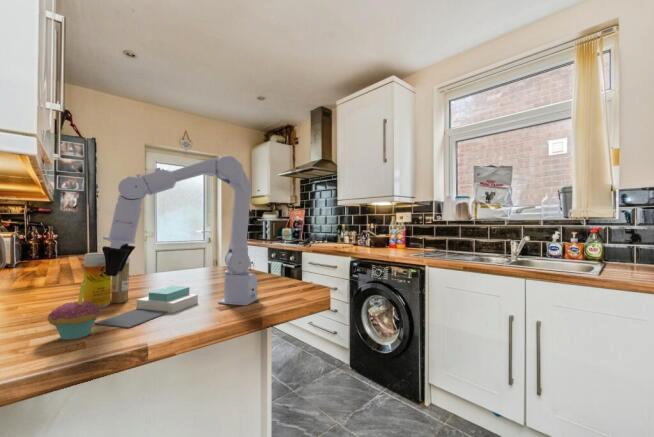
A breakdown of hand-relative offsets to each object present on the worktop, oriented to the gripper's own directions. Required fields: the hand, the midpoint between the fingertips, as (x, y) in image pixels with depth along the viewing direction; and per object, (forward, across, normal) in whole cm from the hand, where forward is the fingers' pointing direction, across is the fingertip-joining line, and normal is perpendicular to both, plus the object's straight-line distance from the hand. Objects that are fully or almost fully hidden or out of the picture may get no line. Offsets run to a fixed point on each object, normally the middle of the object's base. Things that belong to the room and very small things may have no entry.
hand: (114, 273), depth 78 cm
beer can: (+11, -9, -4) cm, 15 cm away
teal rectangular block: (+6, -3, +14) cm, 16 cm away
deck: (+8, -2, +14) cm, 17 cm away
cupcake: (+11, +15, -2) cm, 19 cm away
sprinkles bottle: (+11, -13, +1) cm, 17 cm away
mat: (+10, +6, +7) cm, 13 cm away
